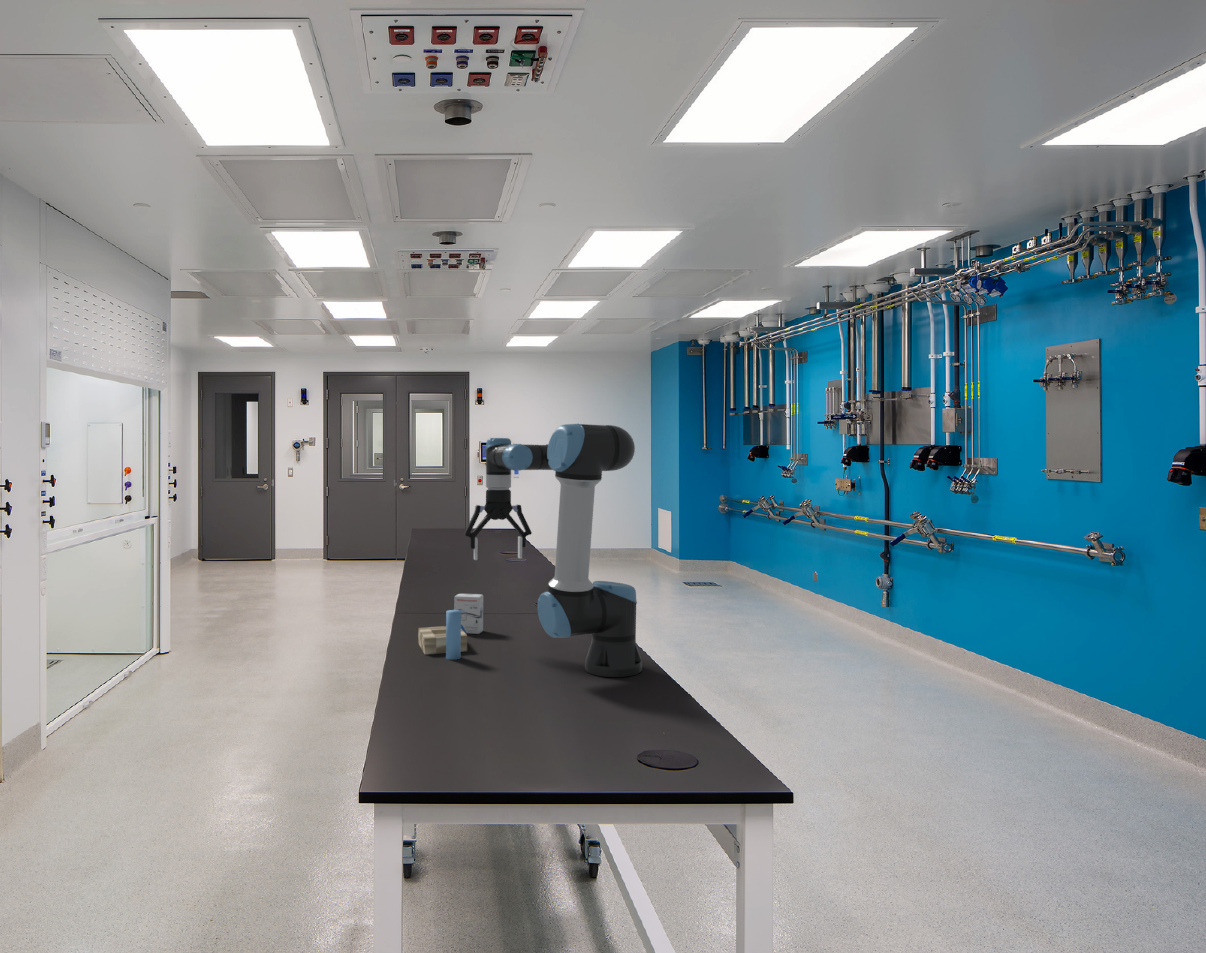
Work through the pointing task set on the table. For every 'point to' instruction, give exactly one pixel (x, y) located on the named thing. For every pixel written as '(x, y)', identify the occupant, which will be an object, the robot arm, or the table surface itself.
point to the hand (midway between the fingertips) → (497, 559)
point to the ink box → (470, 612)
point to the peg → (453, 634)
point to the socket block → (437, 640)
